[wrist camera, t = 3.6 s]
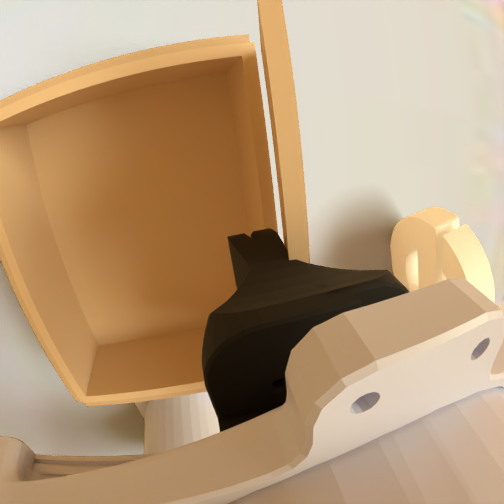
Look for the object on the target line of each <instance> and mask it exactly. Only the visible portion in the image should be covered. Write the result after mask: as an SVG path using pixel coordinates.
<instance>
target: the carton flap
mask: <svg viewBox="0 0 504 504" xmlns="http://www.w3.org/2000/svg"><path fill="white" fill-rule="evenodd" d="M257 1H258V14H259V28H260V42H261V52H262V59H263V66H264V74H265V81H266V89H267V96H268V104H269V112H270V120H271V128H272V136H273V144H274V153H275V162H276V170H277V179H278V189H279V198H280V208H281V217H282V227H283V238H284V245H285V247H286V249H287V250H288V256H289V260H299V261H303V262H306V263H310V255H309V238H308V222H307V208H306V195H305V183H304V171H303V160H302V150H301V140H300V130H299V121H298V112H297V104H296V95H295V87H294V80H293V72H292V65H291V57H290V50H289V44H288V37H287V30H286V24H285V18H284V12H283V6H282V0H257Z"/></svg>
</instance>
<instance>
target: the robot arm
mask: <svg viewBox="0 0 504 504" xmlns="http://www.w3.org/2000/svg"><path fill="white" fill-rule="evenodd" d="M227 238H228V244H229V249H230V255H231V260H232V266H233V271H234V277H235V282H236V287H237V290H236V291H235V293H234V294H233V295H232V296H231V297H230V298H229V299H228V300H227V301H226V302H225V303H223V304H222V305H221V306H219V307H218V308H217V309H216V310H214V311H213V312H211V313H210V315H209V317H208V320H207V324H206V329H205V333H204V339H203V346H202V369H203V376H204V382H205V387H206V390H207V392H202V393H196V394H190V395H184V396H178V397H171V398H164V399H157V400H149V401H141V402H134V403H135V405H136V407H137V408H138V410H139V412H140V413H141V415H142V417H143V418H144V420H145V433H144V454H143V455H127V456H94V457H85V456H53V455H38V454H34V452H33V451H32V450H31V449H30V448H29V447H28V446H27V445H26V444H25V443H23V442H22V441H20V440H18V439H16V438H12V437H3V436H0V504H504V313H503V311H502V309H500V308H499V307H498V306H497V305H496V304H495V303H493V302H492V301H491V300H490V299H489V298H488V297H486V296H485V295H484V294H483V293H482V292H480V291H479V290H478V289H477V288H475V287H474V286H473V285H472V284H471V283H469V282H468V281H467V280H466V279H447V280H444V281H441V282H438V283H435V284H433V285H430V286H427V287H424V288H421V289H418V290H415V291H412V292H409V291H408V289H407V288H406V287H405V286H404V285H403V284H402V283H401V282H400V281H399V280H398V279H397V278H396V277H395V276H393V275H392V274H391V273H390V272H389V271H388V270H362V271H359V270H345V269H336V268H329V267H323V266H318V265H314V264H310V263H306V262H303V261H299V260H289V256H288V250H287V249H286V247H285V245H284V244H283V242H282V240H281V239H280V237H279V235H278V234H277V232H276V231H274V230H273V229H270V228H268V229H263V230H258V231H253V232H252V234H251V237H250V236H248V235H246V234H244V233H243V234H238V235H233V236H228V237H227Z"/></svg>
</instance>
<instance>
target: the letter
mask: <svg viewBox="0 0 504 504" xmlns="http://www.w3.org/2000/svg"><path fill="white" fill-rule="evenodd" d="M390 249H391V258H392V268H393V273H394V276H395V277H396V278H397V279H398V280H399V281H400V282H401V283H402V284H403V285H404V286H405V287H406V288H407V289H408V291H409V292H412V291H415V290H418V289H421V288H424V287H427V286H430V285H433V284H435V283H438V282H441V281H444V280H447V279H466V280H467V281H468V282H469V283H471V284H472V285H473V286H474V287H475V288H477V289H478V290H479V291H480V292H482V293H483V294H484V295H485V296H486V297H488V298H489V299H490V300H491V301H492V302H493V303H494V300H495V290H494V282H493V276H492V272H491V268H490V265H489V262H488V259H487V257H486V255H485V252H484V250H483V248H482V246H481V244H480V243H479V241H478V239H477V238H476V236H475V235H474V233H473V232H472V230H471V229H470V228H469V227H468V225H467V224H465V225H463V226H461V227H459V217H458V216H457V215H455V214H453V213H451V212H449V211H447V210H445V209H443V208H440V207H430V208H427V209H424V210H422V211H419V212H417V213H415V214H412V215H410V216H408V217H405V218H403V219H402V220H400V221H399V222H398V223H397V224H396V226H395V228H394V230H393V233H392V237H391V244H390Z"/></svg>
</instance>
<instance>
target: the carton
mask: <svg viewBox="0 0 504 504" xmlns="http://www.w3.org/2000/svg"><path fill="white" fill-rule="evenodd" d="M268 228H270V229H273V230H274V231H276V232H277V234H278V230H277V220H276V211H275V202H274V193H273V184H272V175H271V166H270V158H269V150H268V141H267V133H266V125H265V117H264V110H263V102H262V94H261V87H260V80H259V72H258V65H257V58H256V51H255V44H254V42H252V43H250V42H249V35H236V36H226V37H217V38H209V39H202V40H195V41H188V42H182V43H176V44H171V45H166V46H161V47H156V48H151V49H146V50H142V51H138V52H134V53H130V54H126V55H122V56H118V57H114V58H111V59H107V60H104V61H100V62H97V63H94V64H91V65H87V66H84V67H81V68H78V69H75V70H72V71H70V72H67V73H64V74H61V75H59V76H56V77H53V78H51V79H48V80H46V81H43V82H41V83H38V84H36V85H33V86H31V87H29V88H26V89H24V90H22V91H20V92H18V93H15V94H13V95H11V96H9V97H7V98H5V99H3V100H1V101H0V259H1V261H2V264H3V267H4V269H5V272H6V274H7V276H8V279H9V281H10V283H11V286H12V288H13V290H14V293H15V295H16V297H17V299H18V301H19V303H20V306H21V308H22V310H23V312H24V314H25V316H26V318H27V320H28V322H29V324H30V326H31V328H32V330H33V332H34V333H35V335H36V337H37V339H38V341H39V343H40V344H41V346H42V348H43V350H44V352H45V353H46V355H47V357H48V358H49V360H50V362H51V363H52V365H53V367H54V368H55V370H56V372H57V373H58V375H59V376H60V378H61V380H62V381H63V383H64V384H65V386H66V387H67V389H68V390H69V392H70V393H71V395H72V396H73V398H74V399H75V401H81V402H82V403H85V404H86V405H87V406H100V405H112V404H123V403H132V402H141V401H149V400H157V399H164V398H171V397H178V396H184V395H190V394H196V393H202V392H207V390H206V387H205V382H204V376H203V369H202V346H203V339H204V333H205V329H206V324H207V320H208V317H209V315H210V313H211V312H213V311H214V310H216V309H217V308H218V307H219V306H221V305H222V304H223V303H225V302H226V301H227V300H228V299H229V298H230V297H231V296H232V295H233V294H234V293H235V291H236V290H237V287H236V282H235V277H234V271H233V266H232V260H231V255H230V249H229V244H228V238H227V237H228V236H233V235H238V234H243V233H244V234H246V235H248V236H250V237H251V234H252V232H253V231H258V230H263V229H268Z"/></svg>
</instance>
